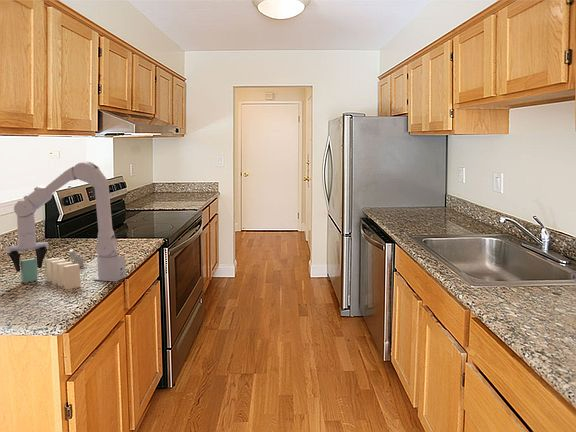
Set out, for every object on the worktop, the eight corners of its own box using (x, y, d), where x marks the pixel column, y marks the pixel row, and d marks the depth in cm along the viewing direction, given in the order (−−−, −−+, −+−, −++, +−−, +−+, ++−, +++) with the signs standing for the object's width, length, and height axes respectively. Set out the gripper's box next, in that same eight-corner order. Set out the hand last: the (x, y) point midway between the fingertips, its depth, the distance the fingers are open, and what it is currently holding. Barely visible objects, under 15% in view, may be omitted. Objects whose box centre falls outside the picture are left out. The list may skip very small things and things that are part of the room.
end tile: (37, 280, 198) (36, 258, 197) (23, 282, 194) (22, 261, 193) (35, 279, 199) (34, 258, 198) (21, 281, 195) (20, 260, 194)
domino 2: (67, 281, 196) (66, 260, 195) (53, 284, 192) (52, 262, 191) (65, 280, 197) (64, 259, 196) (51, 283, 193) (50, 261, 192)
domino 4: (80, 286, 189) (79, 264, 188) (66, 289, 186) (65, 266, 184) (78, 285, 190) (77, 263, 189) (64, 288, 187) (63, 266, 185)
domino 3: (73, 283, 193) (72, 262, 191) (59, 286, 189) (58, 264, 188) (71, 283, 194) (70, 261, 192) (57, 285, 190) (56, 263, 189)
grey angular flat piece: (79, 265, 221) (78, 246, 220) (83, 265, 221) (82, 246, 220) (69, 269, 214) (68, 250, 213) (73, 269, 214) (72, 250, 213)
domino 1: (61, 279, 199) (59, 258, 198) (47, 281, 196) (46, 260, 194) (59, 278, 200) (58, 257, 199) (45, 280, 197) (44, 259, 195)
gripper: (42, 229, 202) (44, 264, 204) (1, 233, 191) (3, 271, 193) (50, 231, 197) (52, 267, 199) (8, 236, 187) (11, 274, 189)
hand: (28, 269), depth 196 cm, fingers open, 7 cm apart
